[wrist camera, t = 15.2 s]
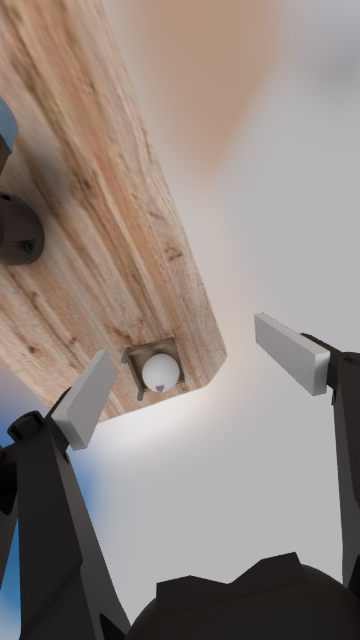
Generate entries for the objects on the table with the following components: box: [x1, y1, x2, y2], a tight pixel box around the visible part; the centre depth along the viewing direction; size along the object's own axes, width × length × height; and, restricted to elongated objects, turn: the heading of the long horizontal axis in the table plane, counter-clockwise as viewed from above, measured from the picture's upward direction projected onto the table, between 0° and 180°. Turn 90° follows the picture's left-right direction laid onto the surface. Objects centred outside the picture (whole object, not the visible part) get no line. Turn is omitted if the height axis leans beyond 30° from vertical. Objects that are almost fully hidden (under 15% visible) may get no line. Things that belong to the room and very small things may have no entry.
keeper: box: [121, 337, 185, 401], centre depth 52 cm, size 15×15×6 cm
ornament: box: [142, 354, 180, 394], centre depth 49 cm, size 10×10×12 cm
